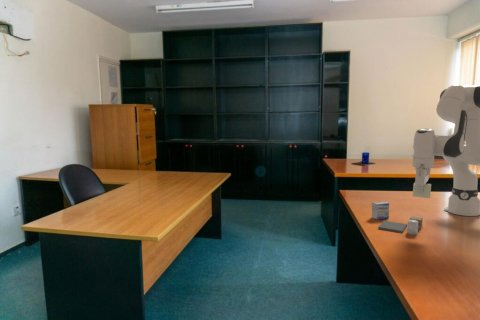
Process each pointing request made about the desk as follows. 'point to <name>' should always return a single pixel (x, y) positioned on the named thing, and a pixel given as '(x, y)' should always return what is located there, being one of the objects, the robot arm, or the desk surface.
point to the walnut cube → (418, 221)
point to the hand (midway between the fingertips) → (421, 192)
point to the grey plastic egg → (412, 227)
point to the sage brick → (425, 193)
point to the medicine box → (380, 210)
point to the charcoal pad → (392, 226)
